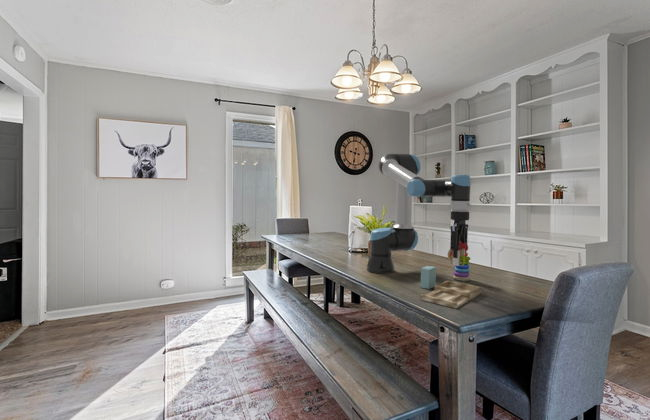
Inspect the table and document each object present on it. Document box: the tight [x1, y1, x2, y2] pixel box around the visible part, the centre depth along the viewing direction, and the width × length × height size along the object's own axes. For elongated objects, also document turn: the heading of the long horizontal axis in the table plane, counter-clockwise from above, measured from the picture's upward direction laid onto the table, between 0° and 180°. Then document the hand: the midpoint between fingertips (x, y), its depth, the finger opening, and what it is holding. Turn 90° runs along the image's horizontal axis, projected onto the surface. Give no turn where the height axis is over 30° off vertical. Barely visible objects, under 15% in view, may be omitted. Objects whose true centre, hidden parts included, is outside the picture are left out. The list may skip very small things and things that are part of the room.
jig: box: [419, 280, 482, 309], centre depth 145 cm, size 15×26×3 cm, turn 137°
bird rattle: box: [447, 241, 471, 266], centre depth 149 cm, size 6×11×9 cm
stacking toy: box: [452, 244, 471, 282], centre depth 173 cm, size 8×8×19 cm
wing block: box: [420, 265, 437, 290], centre depth 160 cm, size 4×7×9 cm, turn 137°
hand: (458, 264), depth 149 cm, fingers closed on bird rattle, 5 cm apart
